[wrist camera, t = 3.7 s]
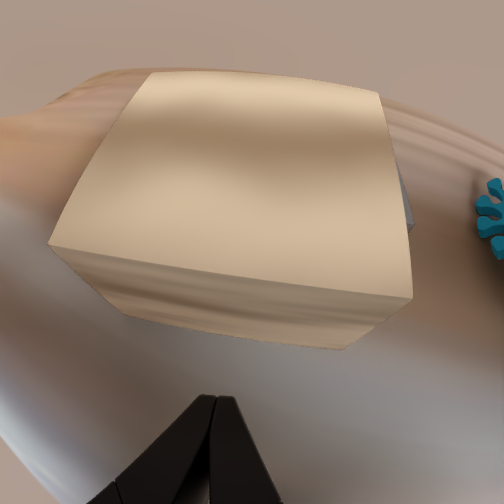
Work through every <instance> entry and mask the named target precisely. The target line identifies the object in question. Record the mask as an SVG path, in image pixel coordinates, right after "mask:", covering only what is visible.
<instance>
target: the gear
mask: <svg viewBox="0 0 504 504" xmlns="http://www.w3.org/2000/svg"><path fill="white" fill-rule="evenodd" d="M487 186H488V190H489V194H490V195H492V196H495V197H497V198H498V199H499V200H500V201H501V203H499V204H493V203H492V202H491V201H490V198H489V197H488V196H485V195H482V196H481V197H480V198H479V199H478V200H477V202H476V209H477V212H478V214H480V215H492V216H495V217H497V218H499V219H500V220H498V221H493V220H491V219H490V218H488V217H486V216H482V217H479V218H478V222H477V225H478V231H479V236H480V237H481V238H486V237H489V236H491V235H493V234H497V233H504V190H503V189H502V183H501V180H500V179H499V178H495V179H493V180H491V181H489V182H488V183H487ZM491 247H492V251H493V254H494V255H495V256H496V258H497V259H498V260H499V259H503V258H504V236H495V237H493V238H492V239H491Z"/></svg>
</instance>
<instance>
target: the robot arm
mask: <svg viewBox="0 0 504 504" xmlns="http://www.w3.org/2000/svg"><path fill="white" fill-rule="evenodd" d="M208 498H210V504H284V503H283V502H281V498H280V496H279V494H278V492H277V490H276V488H275V486H274V484H273V482H272V480H271V478H270V475H269V473H268V471H267V469H266V467H265V465H264V463H263V461H262V459H261V456H260V454H259V452H258V450H257V448H256V445H255V443H254V441H253V439H252V437H251V434H250V432H249V430H248V428H247V425H246V423H245V421H244V418H243V416H242V414H241V411H240V409H239V407H238V404H237V402H236V399H235V398H234V397H233V396H218V397H216V396H215V395H205V394H201V395H199V396H198V397H197V398H196V399H195V400H194V401H193V402H192V403H191V404H190V405H189V407H188V408H187V409H186V410H185V411H184V412H183V413H182V414H181V415H180V416H179V417H178V418H177V419H176V420H175V421H174V422H173V423H172V424H171V425H170V426H169V427H168V428H167V429H166V430H165V431H164V432H163V433H162V434H161V435H160V436H159V437H158V438H157V439H156V440H155V441H154V442H153V443H152V444H151V445H150V446H149V447H148V448H147V449H146V450H145V451H144V452H143V453H142V454H141V455H140V456H139V457H138V458H137V459H136V460H135V461H134V462H133V463H132V464H131V465H129V466H128V467H127V468H126V469H125V470H124V471H123V472H122V473H121V474H120V475H119V476H118V477H117V478H116V479H115V482H114V481H112V482H111V483H110V484H109V485H108V486H107V487H106V488H105V489H103V490H102V491H101V492H100V493H99V494H98V495H96V496H95V497H94V498H93V499H92V500H90V501H89V502H88V503H87V504H207V502H208Z"/></svg>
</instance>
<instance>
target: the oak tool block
mask: <svg viewBox="0 0 504 504" xmlns="http://www.w3.org/2000/svg"><path fill="white" fill-rule="evenodd" d="M47 245H48V246H49V247H50V248H51V249H52V250H53V251H54V252H55V253H56V254H57V255H58V256H59V257H60V258H61V259H62V260H63V261H65V262H66V263H67V264H68V265H69V266H70V267H71V268H72V269H73V270H74V271H75V272H76V273H77V274H78V275H79V276H80V277H81V278H83V279H84V280H85V281H86V282H87V283H88V284H89V285H90V286H91V287H92V288H94V289H95V290H96V291H97V292H98V293H99V294H100V295H101V296H103V297H104V298H105V299H106V300H107V301H108V302H110V303H111V304H112V305H113V306H114V307H116V308H117V309H118V310H119V311H120V312H122V313H123V314H124V315H127V316H131V317H136V318H140V319H144V320H149V321H153V322H158V323H163V324H167V325H172V326H177V327H182V328H187V329H193V330H198V331H203V332H209V333H214V334H220V335H226V336H232V337H238V338H245V339H251V340H258V341H265V342H272V343H280V344H288V345H296V346H305V347H314V348H323V349H334V350H343V349H345V348H346V347H348V346H349V345H351V344H352V343H354V342H355V341H356V340H358V339H359V338H361V337H362V336H364V335H365V334H367V333H368V332H369V331H371V330H372V329H374V328H375V327H376V326H378V325H379V324H380V323H382V322H383V321H385V320H386V319H387V318H389V317H390V316H391V315H393V314H394V313H395V312H397V311H398V310H399V309H400V308H402V307H403V306H404V305H406V304H407V303H408V302H409V301H411V300H412V299H413V286H412V272H411V260H410V250H409V241H408V233H407V225H406V218H405V211H404V205H403V198H402V193H401V187H400V182H399V176H398V171H397V166H396V162H395V157H394V152H393V148H392V144H391V139H390V135H389V131H388V127H387V124H386V120H385V116H384V112H383V109H382V105H381V102H380V98H379V95H378V93H377V92H372V91H368V90H364V89H359V88H355V87H350V86H344V85H339V84H334V83H329V82H323V81H316V80H310V79H303V78H295V77H287V76H278V75H268V74H256V73H240V72H214V71H183V72H157V73H152V74H151V75H150V76H149V77H148V78H147V80H146V81H145V82H144V84H143V85H142V86H141V87H140V89H139V90H138V91H137V93H136V94H135V95H134V97H133V98H132V99H131V101H130V102H129V103H128V105H127V106H126V107H125V109H124V110H123V112H122V113H121V114H120V116H119V117H118V119H117V120H116V122H115V123H114V124H113V126H112V127H111V129H110V130H109V132H108V133H107V135H106V136H105V138H104V140H103V141H102V143H101V144H100V146H99V147H98V149H97V151H96V152H95V154H94V155H93V157H92V159H91V160H90V162H89V164H88V166H87V167H86V169H85V171H84V172H83V174H82V176H81V178H80V179H79V181H78V183H77V185H76V187H75V189H74V190H73V192H72V194H71V196H70V198H69V200H68V202H67V204H66V206H65V208H64V210H63V212H62V214H61V216H60V218H59V220H58V222H57V224H56V226H55V228H54V230H53V233H52V235H51V237H50V239H49V242H48V244H47Z"/></svg>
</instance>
